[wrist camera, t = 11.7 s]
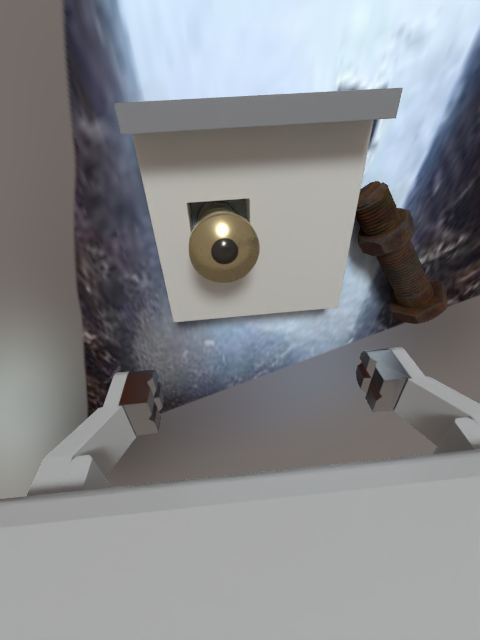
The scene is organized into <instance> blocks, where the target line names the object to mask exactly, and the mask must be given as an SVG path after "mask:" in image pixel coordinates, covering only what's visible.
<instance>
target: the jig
mask: <svg viewBox="0 0 480 640" xmlns="http://www.w3.org/2000/svg"><path fill="white" fill-rule="evenodd" d="M401 93H402V88H391V89H370V90H351V91H332V92H313V93H294V94H276V95H257V96H238V97H219V98H201V99H182V100H163V101H144V102H127V103H114V106H115V110H116V114H117V118H118V123H119V127H120V131H121V134H132V136H133V140H134V145H135V149H136V154H137V158H138V163H139V167H140V172H141V176H142V181H143V185H144V190H145V194H146V199H147V203H148V208H149V212H150V217H151V221H152V226H153V230H154V235H155V239H156V244H157V248H158V253H159V257H160V262H161V266H162V271H163V275H164V280H165V284H166V289H167V293H168V298H169V302H170V307H171V311H172V316H173V320H174V322H182V321H193V320H205V319H216V318H227V317H238V316H249V315H260V314H271V313H282V312H293V311H305V310H316V309H327V308H338V305H339V299H340V294H341V289H342V284H343V278H344V273H345V268H346V262H347V257H348V252H349V246H350V241H351V236H352V231H353V225H354V220H355V215H356V209H357V204H358V199H359V193H360V188H361V183H362V178H363V172H364V167H365V162H366V156H367V151H368V146H369V141H370V135H371V130H372V125H373V119H390V118H396V115H397V111H398V106H399V102H400V97H401ZM233 199H246V220H247V221H248V222H249V223H250V224H251V225H252V227H253V229H254V231H255V232H256V234H257V237H258V240H259V246H260V251H259V256H258V259H257V262H256V264H255V266H254V267H253V268H252V270H251V271H250V272H249V273H248V274H247V275H245V276H244V277H242V278H241V279H238V280H236V281H233V282H228V283H218V282H213V281H210V280H208V279H206V278H204V277H203V276H201V275H200V274H199V273H198V272H197V271H196V270H195V268H194V267H193V265H192V263H191V261H190V257H189V237H190V234H191V232H192V229H193V224H192V216H191V209H190V203H191V202H205V201H219V200H233Z"/></svg>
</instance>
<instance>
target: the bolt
mask: <svg viewBox="0 0 480 640" xmlns="http://www.w3.org/2000/svg"><path fill="white" fill-rule="evenodd" d="M355 216H356V218H357V221H358V222H359V224H360V226H361V228H360V230H359V233H358V244H359V246H360V248H361V250H362V252H363V253H366V254H369V255H373V256H376V257H377V259H378V261H379V263H380V264H381V266H382V268H383V271H384V273H385V274H386V277H387V278H388V280H389V282H390V284H391V286H392V288H393V290H394V292H393V293H392V294H391V305H390V312H391V314H392V315H393V317H394V318H396V319H398V320H401V321H404V322H407V323H413V324H418V323H423V322H426V321H429V320H431V319H433V318H435V317H437V316H438V315H440V314H441V313H442V312H443V311H444V310H446V309H447V295H446V289H445V286H444V283H443V281H437V280H429V279H428V278H427V277H426V275H425V273H424V270H423V268H422V266H421V263H420V260H419V258H418V256H417V254H416V251H415V249H414V246H413V245H412V243H411V240H410V239H411V238H412V237H413V235H414V223H413V218H412V216H411V213H410V211H409V210H406V209H401V208H396V205H395V202H394V201H393V198H392V195H391V193H390V191H389V188H388V186H387V185H386V184H384V183H380V182H379V181H375V182H372V183H370V184H368V185H367V186H365V187H364V188H362V189H361V190H360V193H359V199H358V204H357V209H356V215H355Z"/></svg>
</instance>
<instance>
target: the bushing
mask: <svg viewBox="0 0 480 640" xmlns="http://www.w3.org/2000/svg"><path fill="white" fill-rule="evenodd" d="M259 251H260V246H259V240H258V237H257V234H256V232H255V231H254V229H253V227H252V225H251V224H250V223H249V222H248V221H247V220H246V219H245V218H244V217H242V216H241V215H239V214H236V213H234V211H233V209H232V208H231V207H230V206H229V205H228V204H226V203H224V202H220V201H213V202H210V203H207V204H206V205H204V206H203V207H202V208H201V210H200V211H199V214H198V217H197V224H196V225H195V226H194V228H193V229H192V232H191V234H190V237H189V257H190V261H191V263H192V265H193V267H194V268H195V270H196V271H197V272H198V273H199V274H200V275H201V276H203V277H204V278H206V279H208V280H210V281H213V282H218V283H228V282H233V281H236V280H238V279H241V278H242V277H244V276H245V275H247V274H248V273H249V272H250V271H251V270H252V268H253V267H254V266H255V264H256V262H257V259H258V256H259Z"/></svg>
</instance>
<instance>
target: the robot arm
mask: <svg viewBox="0 0 480 640" xmlns="http://www.w3.org/2000/svg"><path fill="white" fill-rule="evenodd" d="M360 359H361V361H362V362H361V363H360V364H359V365H358V366H357V370H356V375H357V376H356V377H357V381H358V384H359V386H360V388H361V389H362V390H363V391H365V392H366V393H367V394H366V397H365V398H366V400H367V402H368V404H369V406H370V408H371V410H372V412H376V411H391V410H394V412H395V413H397V414H398V415H399V416H400V417H402V418H403V419H404V420H405V421H407V422H408V423H409V424H410V425H412V426H413V427H414V428H415V429H416V430H418V431H419V432H420V433H421V434H423V435H424V436H425V437H426V438H427V439H429V440H430V441H431V442H432V443H434V444H435V445H436V446H437V448H436V450H435V451H434V452H433V454H428V455H420V456H410V457H400V458H390V459H380V460H371V461H362V462H352V463H343V464H333V465H323V466H314V467H304V468H294V469H285V470H275V471H266V472H256V473H247V474H237V475H228V476H218V477H208V478H200V479H189V480H179V481H170V482H161V483H150V484H141V485H131V486H123V487H113V488H112V487H111V486H110V484H109V483H108V481H107V480H106V476H107V475H108V474H109V472H110V471H111V470H112V468H113V467H114V466H115V464H116V463H117V462H118V460H119V459H120V458H121V456H122V455H123V454H124V452H125V451H126V450H127V448H128V447H129V446H130V444H131V443H132V442H133V440H134V439H135V438H136V436H137V435H144V434H152V433H158V432H159V426H160V419H161V417H160V414H159V411H160V410H161V409H162V406H163V390H162V386H161V384H160V383H159V382H158V377H159V376H158V373H157V371H156V370H146V371H131V372H119V373H116V374H115V375H114V377H113V380H112V382H111V385H110V388H109V391H108V394H107V397H106V400H105V403H104V405H103V408H98V409H97V410H96V411H95V412H94V413H93V414H92V415H91V416H90V417H88V418H87V419H86V420H85V421H84V422H83V423H82V424H81V425H80V426H79V427H78V428H76V430H74V431H73V432H72V433H71V434H70V435H69V436H68V437H67V438H66V439H65V440H63V441H62V442H61V443H60V444H59V445H58V446H57V447H56V448H55V449H54V450H52V451H51V452H50V453H49V454H48V455H47V456H46V457H45V458H44V460H43V462H42V464H41V466H40V468H39V470H38V472H37V475H36V477H35V479H34V481H33V483H32V486H31V488H30V490H29V492H28V494H27V496H26V497H15V498H6V499H0V640H480V404H479V403H476V402H475V401H473V400H471V399H469V398H468V397H466V396H464V395H462V394H460V393H458V392H456V391H455V390H453V389H451V388H449V387H447V386H445V385H443V384H442V383H440V382H438V381H436V380H434V379H432V378H431V377H425V376H424V374H423V373H422V372H421V370H420V369H419V368H418V367H417V365H416V364H415V363H414V362H413V360H412V359H411V357H410V356H409V355H408V354H407V352H406V351H405V350H404V349H403V348H401V347H398V348H389V349H378V350H367V351H363V352H362V353H361V355H360Z"/></svg>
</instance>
